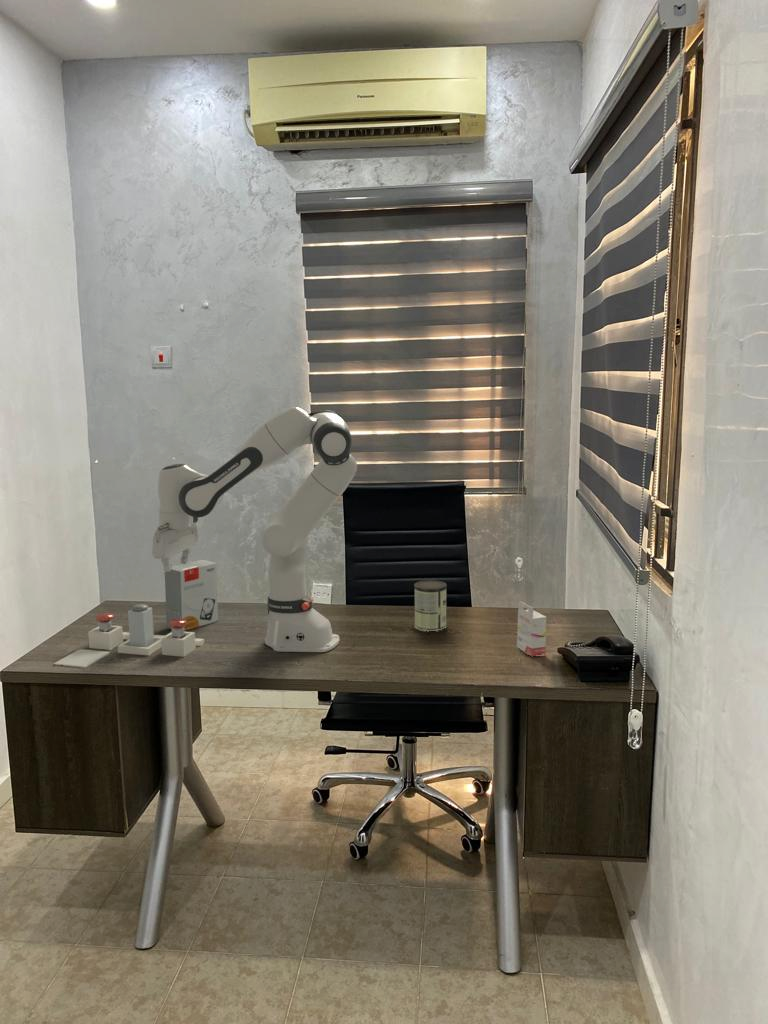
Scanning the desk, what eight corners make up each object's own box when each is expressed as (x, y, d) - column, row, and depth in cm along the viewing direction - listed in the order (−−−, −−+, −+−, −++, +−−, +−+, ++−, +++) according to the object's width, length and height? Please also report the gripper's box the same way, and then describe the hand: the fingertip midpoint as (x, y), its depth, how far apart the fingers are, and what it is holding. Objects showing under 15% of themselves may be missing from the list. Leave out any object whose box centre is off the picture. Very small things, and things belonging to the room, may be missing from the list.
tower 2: (195, 648, 238) (194, 632, 237) (184, 656, 232) (183, 640, 231) (174, 646, 240) (173, 630, 239) (162, 654, 233) (161, 638, 232)
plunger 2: (190, 642, 237) (189, 619, 236) (182, 647, 232) (181, 624, 231) (175, 640, 238) (174, 618, 237) (166, 646, 234) (165, 623, 232)
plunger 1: (118, 635, 243) (116, 613, 242) (108, 641, 238) (107, 618, 237) (103, 634, 244) (102, 612, 243) (93, 639, 240) (92, 617, 238)
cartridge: (154, 646, 241) (152, 604, 238) (145, 651, 236) (143, 609, 233) (139, 644, 242) (136, 603, 239) (130, 650, 237) (127, 608, 235)
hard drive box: (181, 633, 252) (178, 571, 249) (165, 628, 257) (162, 567, 253) (219, 620, 265) (216, 561, 261) (203, 616, 269) (201, 558, 266)
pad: (109, 653, 235) (109, 651, 235) (85, 667, 223) (85, 666, 223) (79, 650, 237) (79, 649, 237) (53, 664, 226) (53, 663, 226)
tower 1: (123, 642, 244) (122, 626, 243) (110, 649, 238) (109, 633, 237) (103, 640, 246) (102, 624, 245) (89, 647, 239) (88, 631, 238)
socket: (204, 643, 243) (203, 637, 242) (183, 658, 230) (182, 652, 230) (110, 635, 250) (109, 629, 250) (84, 649, 238) (84, 643, 238)
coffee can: (413, 621, 263) (414, 580, 260) (445, 621, 263) (445, 580, 260) (414, 632, 253) (414, 588, 250) (447, 632, 252) (447, 588, 250)
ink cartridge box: (546, 656, 231) (548, 606, 229) (531, 658, 230) (533, 608, 227) (530, 646, 239) (532, 598, 237) (516, 648, 237) (517, 600, 235)
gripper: (166, 527, 220) (167, 576, 223) (201, 515, 240) (202, 560, 242) (145, 526, 222) (147, 575, 225) (182, 513, 242) (183, 558, 244)
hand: (176, 567), depth 234 cm, fingers open, 8 cm apart
